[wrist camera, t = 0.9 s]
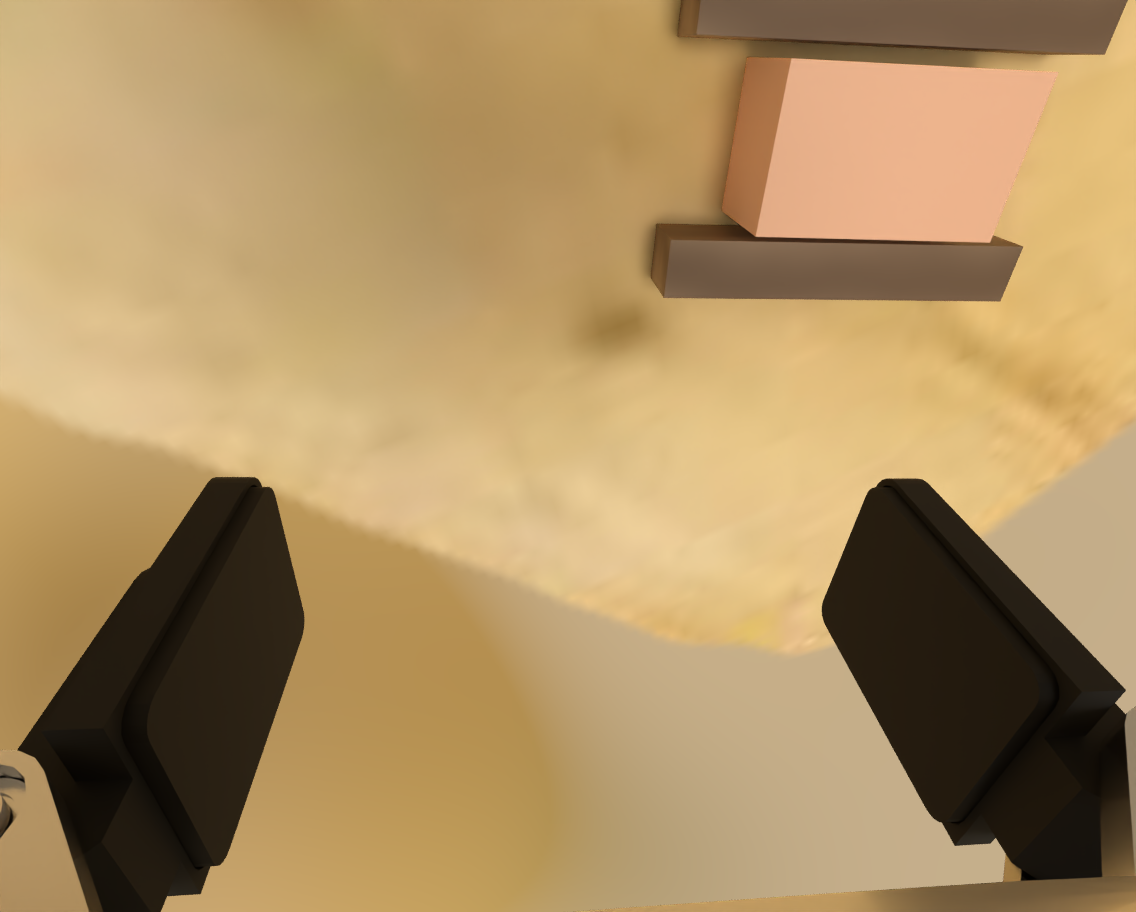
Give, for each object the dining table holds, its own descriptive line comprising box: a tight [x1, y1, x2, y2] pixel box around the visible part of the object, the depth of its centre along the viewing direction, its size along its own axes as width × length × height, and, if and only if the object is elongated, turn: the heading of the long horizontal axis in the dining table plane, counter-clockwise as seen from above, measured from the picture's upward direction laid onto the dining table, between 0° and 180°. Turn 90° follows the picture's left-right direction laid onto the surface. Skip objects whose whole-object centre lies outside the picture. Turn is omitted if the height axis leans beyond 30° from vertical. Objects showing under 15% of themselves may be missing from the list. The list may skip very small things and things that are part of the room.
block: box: [722, 57, 1058, 243], centre depth 26 cm, size 6×10×5 cm, turn 88°
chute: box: [651, 0, 1128, 301], centre depth 26 cm, size 12×16×3 cm
